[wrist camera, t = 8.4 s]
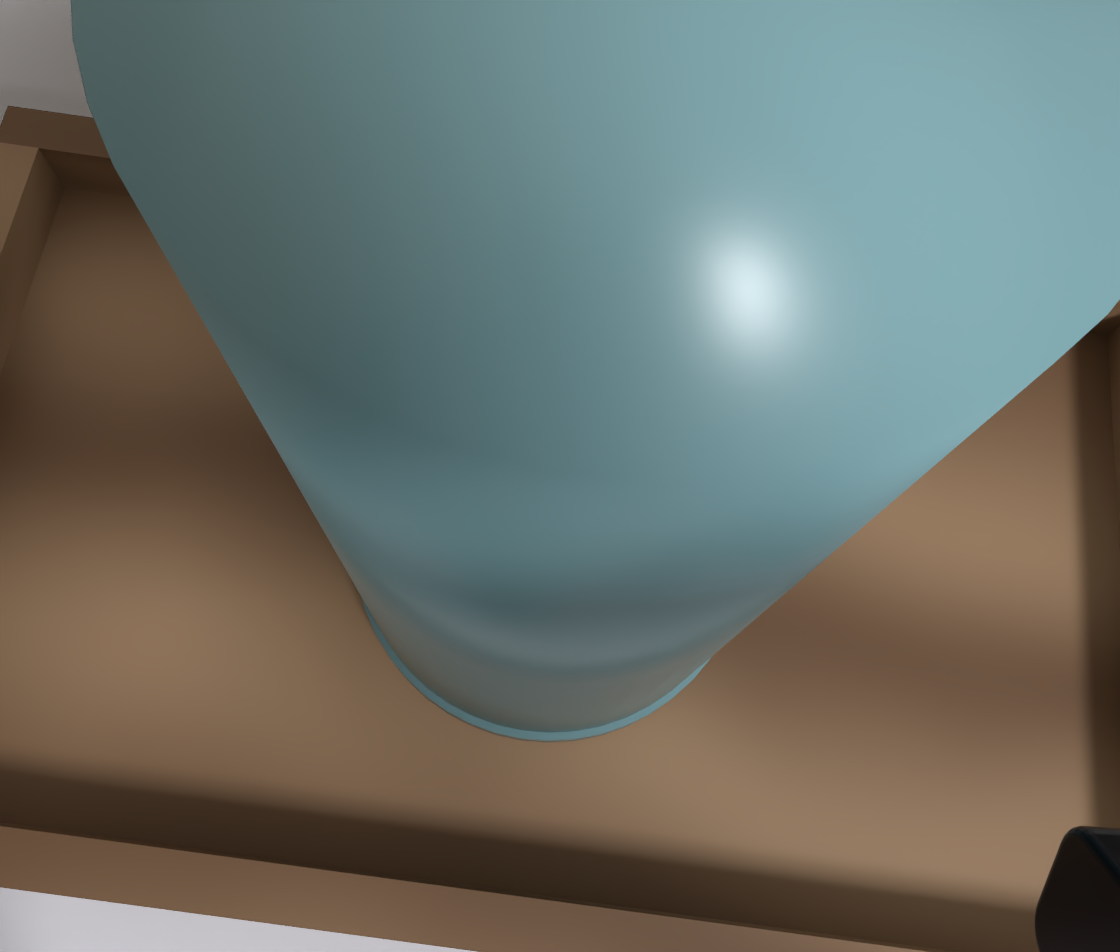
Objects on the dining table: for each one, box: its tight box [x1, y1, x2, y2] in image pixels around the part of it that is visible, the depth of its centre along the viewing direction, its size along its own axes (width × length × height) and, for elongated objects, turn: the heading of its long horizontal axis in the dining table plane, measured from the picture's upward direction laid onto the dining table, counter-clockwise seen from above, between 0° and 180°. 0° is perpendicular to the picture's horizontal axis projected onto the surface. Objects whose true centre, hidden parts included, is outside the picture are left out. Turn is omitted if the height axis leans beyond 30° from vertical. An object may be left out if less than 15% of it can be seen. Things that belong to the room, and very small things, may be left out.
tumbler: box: [71, 0, 1120, 742], centre depth 12 cm, size 7×7×13 cm
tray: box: [0, 106, 1120, 952], centre depth 18 cm, size 13×22×2 cm, turn 83°
